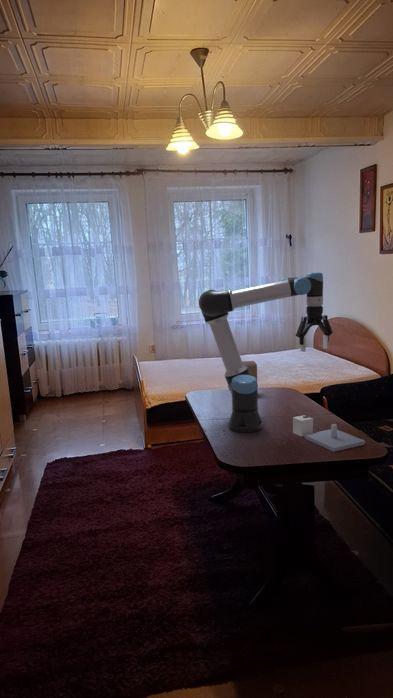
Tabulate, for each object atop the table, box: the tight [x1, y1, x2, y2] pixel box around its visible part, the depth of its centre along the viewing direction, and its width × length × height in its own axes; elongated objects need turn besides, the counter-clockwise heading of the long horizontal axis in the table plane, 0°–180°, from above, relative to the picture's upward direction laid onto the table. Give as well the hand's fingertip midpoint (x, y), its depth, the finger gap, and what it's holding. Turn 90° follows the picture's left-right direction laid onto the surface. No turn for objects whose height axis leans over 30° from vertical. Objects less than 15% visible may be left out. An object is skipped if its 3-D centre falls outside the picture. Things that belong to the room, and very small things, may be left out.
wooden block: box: [242, 360, 258, 380], centre depth 264 cm, size 10×10×20 cm
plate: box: [304, 423, 366, 453], centre depth 188 cm, size 16×18×7 cm
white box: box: [292, 414, 314, 438], centre depth 199 cm, size 6×6×8 cm
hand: (314, 350), depth 219 cm, fingers open, 13 cm apart
